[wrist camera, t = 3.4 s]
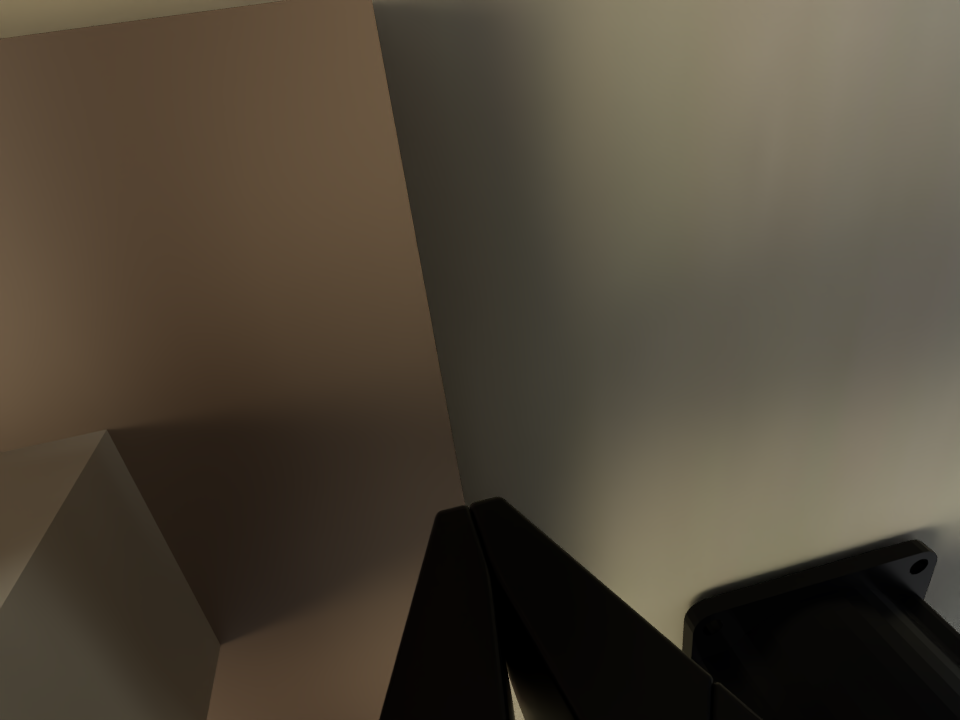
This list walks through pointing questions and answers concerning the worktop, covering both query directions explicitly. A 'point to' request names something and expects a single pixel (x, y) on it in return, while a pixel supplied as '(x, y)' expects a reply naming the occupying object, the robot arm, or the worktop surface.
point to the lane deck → (234, 324)
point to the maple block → (93, 594)
